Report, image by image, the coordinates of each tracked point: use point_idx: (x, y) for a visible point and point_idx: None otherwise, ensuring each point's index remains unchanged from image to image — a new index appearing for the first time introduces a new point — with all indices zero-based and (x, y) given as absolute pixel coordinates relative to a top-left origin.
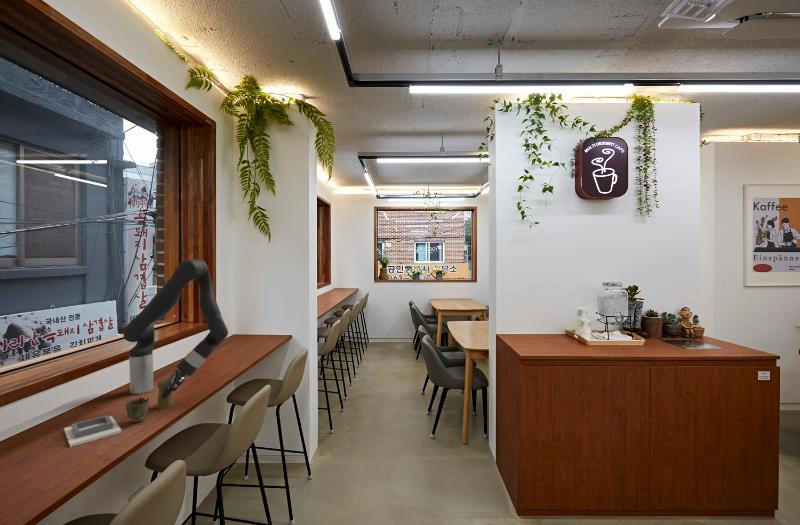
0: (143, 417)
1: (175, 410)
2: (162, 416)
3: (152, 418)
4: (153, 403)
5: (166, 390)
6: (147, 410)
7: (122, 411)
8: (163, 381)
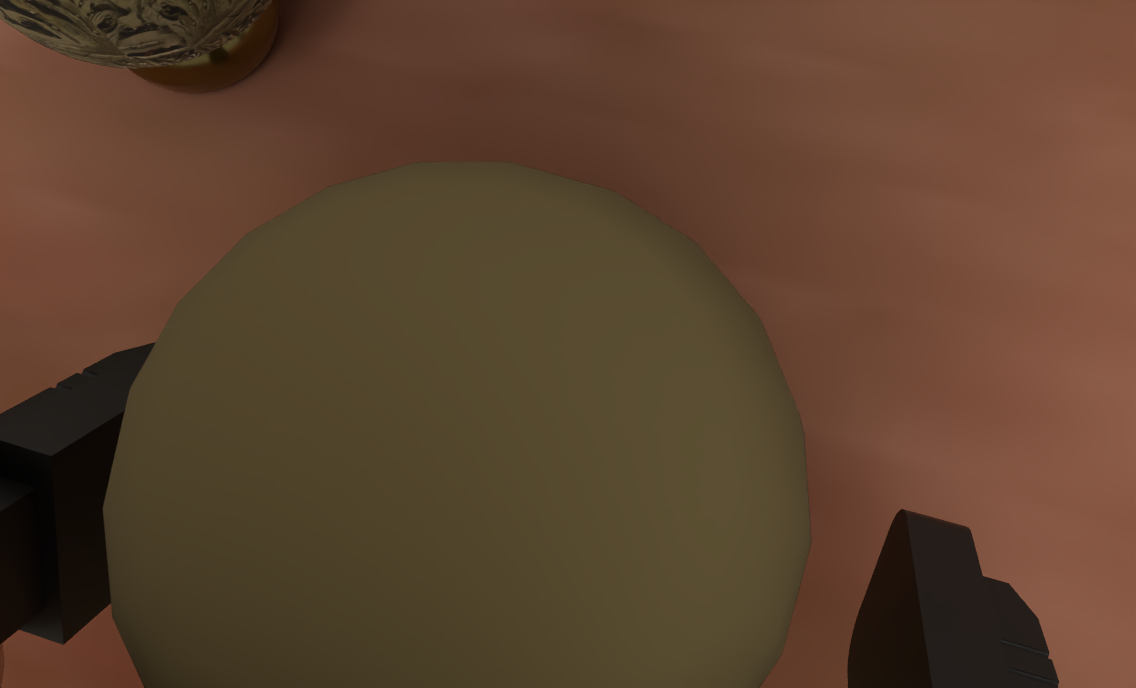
0: (151, 72)
1: (44, 647)
2: (7, 348)
3: (100, 211)
4: (992, 515)
5: (49, 421)
6: (16, 28)
7: (962, 13)
8: (278, 307)
